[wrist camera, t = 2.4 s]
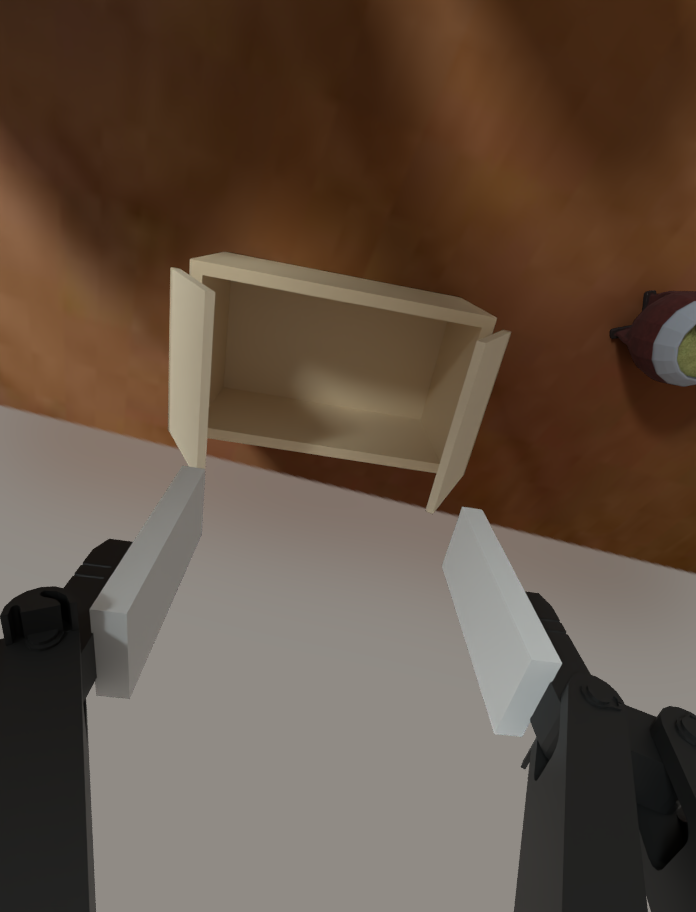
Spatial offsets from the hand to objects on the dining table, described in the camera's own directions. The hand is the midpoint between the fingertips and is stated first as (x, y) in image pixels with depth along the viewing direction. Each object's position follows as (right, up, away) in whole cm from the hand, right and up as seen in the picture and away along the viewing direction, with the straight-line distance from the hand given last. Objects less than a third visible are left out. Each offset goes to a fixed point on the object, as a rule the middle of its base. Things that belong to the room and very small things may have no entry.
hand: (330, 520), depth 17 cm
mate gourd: (+27, +14, +25) cm, 39 cm away
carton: (-1, +12, +25) cm, 27 cm away
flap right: (+10, +6, +16) cm, 20 cm away
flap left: (-11, +9, +14) cm, 20 cm away
